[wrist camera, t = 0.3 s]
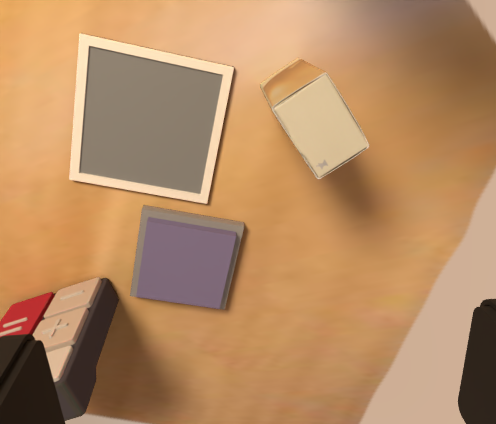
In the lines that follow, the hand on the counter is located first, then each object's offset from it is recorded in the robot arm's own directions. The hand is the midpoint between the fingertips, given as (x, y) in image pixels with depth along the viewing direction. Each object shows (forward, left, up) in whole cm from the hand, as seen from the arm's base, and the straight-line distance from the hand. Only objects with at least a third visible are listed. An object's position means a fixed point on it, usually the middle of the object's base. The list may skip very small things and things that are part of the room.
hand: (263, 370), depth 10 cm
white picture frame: (+4, -7, -34) cm, 35 cm away
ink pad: (+17, -1, -34) cm, 38 cm away
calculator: (+24, -13, -34) cm, 44 cm away
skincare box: (-1, +6, -34) cm, 35 cm away
